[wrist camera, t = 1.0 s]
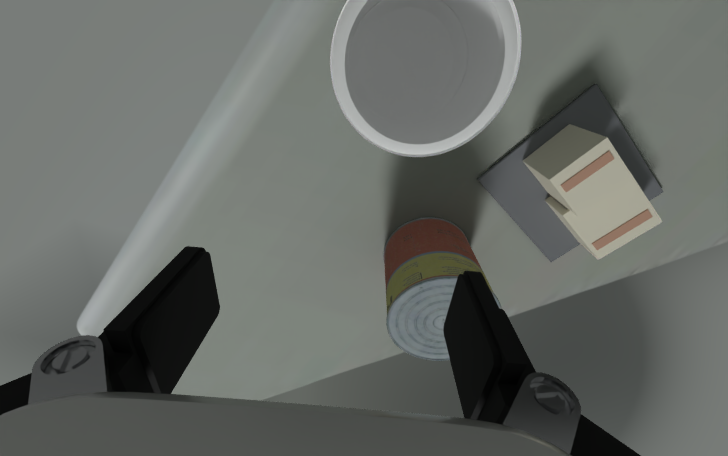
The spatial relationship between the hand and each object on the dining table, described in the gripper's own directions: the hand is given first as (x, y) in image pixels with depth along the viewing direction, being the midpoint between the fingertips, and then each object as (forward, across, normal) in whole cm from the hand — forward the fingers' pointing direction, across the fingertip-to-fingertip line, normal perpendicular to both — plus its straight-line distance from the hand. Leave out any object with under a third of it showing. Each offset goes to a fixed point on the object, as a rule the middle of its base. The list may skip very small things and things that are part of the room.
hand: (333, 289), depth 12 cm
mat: (+25, -24, +3) cm, 35 cm away
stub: (+25, -22, 0) cm, 33 cm away
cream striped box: (+25, -28, +5) cm, 38 cm away
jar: (+26, -4, -8) cm, 27 cm away
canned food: (+26, -10, +14) cm, 31 cm away
